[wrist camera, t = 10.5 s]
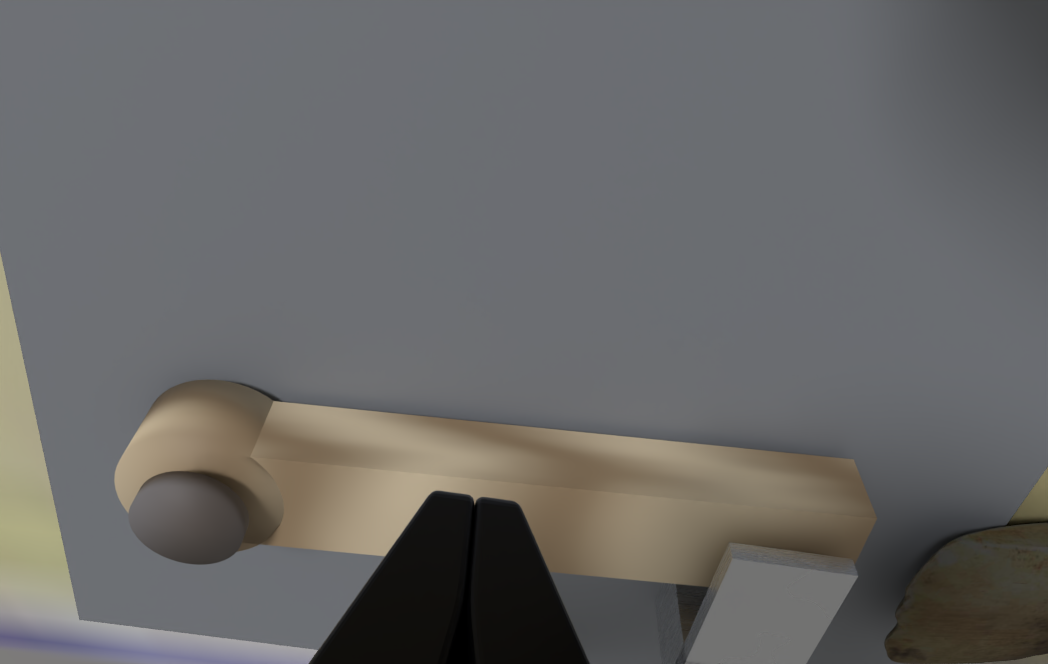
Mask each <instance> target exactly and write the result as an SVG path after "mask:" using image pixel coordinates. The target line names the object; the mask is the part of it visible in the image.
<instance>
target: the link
mask: <svg viewBox="0 0 1048 664" xmlns="http://www.w3.org/2000/svg"><path fill="white" fill-rule="evenodd" d="M114 482H115V489H116V492H117V495H118V498H119V500H120V502H121V504H122V505H123V507H124V508H125V510H126V511H127V512H128V513H129V514H128V518H129V523H130V527H131V529H132V531H133V532H134V534H135V535H136V537H137V538H138V539H139V540H140V541H141V542H142V543H143V544H144V545H145V546H147V547H148V548H149V549H151V550H152V551H154V552H155V553H157V554H159V555H161V556H163V557H166V558H168V559H171V560H174V561H177V562H181V563H186V564H195V565H206V564H214V563H218V562H221V561H224V560H226V559H228V558H230V557H231V556H232V555H234V554H235V553H236V552H239V551H243V550H247V549H250V548H253V547H255V546H258V545H259V544H261V545H271V546H282V547H292V548H303V549H314V550H324V551H335V552H345V553H356V554H366V555H377V556H386V554H387V553H388V551H389V550H390V549H391V547H392V546H393V544H394V543H395V542H396V540H397V539H398V537H399V536H400V534H401V533H402V532H403V530H404V529H405V527H406V526H407V525H408V523H409V522H410V520H411V519H412V518H413V516H414V515H415V513H416V512H417V511H418V509H419V508H420V506H421V505H422V504H423V502H424V501H425V499H426V498H427V497H428V495H429V494H431V493H432V492H433V491H446V492H453V493H461V494H468V495H470V496H471V497H473V499H474V504H475V502H476V500H477V499H478V498H480V497H489V498H496V499H504V500H511V501H515V502H517V503H518V504H519V505H520V506H521V508H522V510H523V512H524V514H525V517H526V519H527V521H528V523H529V526H530V528H531V530H532V533H533V535H534V537H535V539H536V542H537V544H538V546H539V548H540V551H541V553H542V555H543V558H544V560H545V562H546V564H547V567H548V569H549V571H550V572H555V573H566V574H576V575H587V576H598V577H608V578H619V579H629V580H640V581H650V582H661V583H671V584H682V585H692V586H703V587H709V586H710V584H711V582H712V579H713V577H714V575H715V573H716V570H717V568H718V566H719V564H720V561H721V559H722V557H723V555H724V552H725V550H726V548H727V546H728V543H729V542H733V543H740V544H748V545H755V546H762V547H769V548H776V549H784V550H791V551H798V552H805V553H812V554H820V555H827V556H834V557H841V558H849V559H853V562H854V565H855V563H856V561H857V559H858V557H859V555H860V553H861V550H862V548H863V546H864V544H865V542H866V540H867V538H868V536H869V534H870V532H871V530H872V528H873V526H874V524H875V522H876V520H877V517H876V514H875V512H874V509H873V507H872V504H871V502H870V499H869V497H868V494H867V492H866V489H865V487H864V484H863V482H862V479H861V477H860V474H859V472H858V469H857V466H856V464H855V461H854V459H845V458H835V457H825V456H815V455H805V454H795V453H785V452H775V451H765V450H755V449H745V448H736V447H726V446H716V445H706V444H696V443H686V442H676V441H666V440H656V439H646V438H636V437H626V436H616V435H606V434H596V433H586V432H576V431H566V430H556V429H547V428H537V427H527V426H517V425H507V424H497V423H487V422H477V421H467V420H457V419H447V418H437V417H427V416H417V415H407V414H397V413H387V412H377V411H367V410H358V409H348V408H338V407H328V406H318V405H308V404H298V403H288V402H278V401H273V400H271V399H270V398H269V397H267V396H265V395H263V394H262V393H260V392H258V391H256V390H254V389H251V388H249V387H246V386H243V385H240V384H237V383H233V382H228V381H222V380H208V379H207V380H195V381H189V382H185V383H181V384H178V385H176V386H174V387H172V388H170V389H168V390H167V391H165V392H164V393H162V394H161V395H160V396H159V397H158V398H157V399H156V401H155V402H154V403H153V405H152V406H151V408H150V410H149V411H148V413H147V415H146V416H145V418H144V420H143V421H142V423H141V425H140V427H139V428H138V430H137V432H136V433H135V435H134V437H133V438H132V440H131V442H130V443H129V445H128V447H127V448H126V450H125V452H124V454H123V455H122V457H121V459H120V460H119V462H118V465H117V467H116V471H115V478H114Z"/></svg>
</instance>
